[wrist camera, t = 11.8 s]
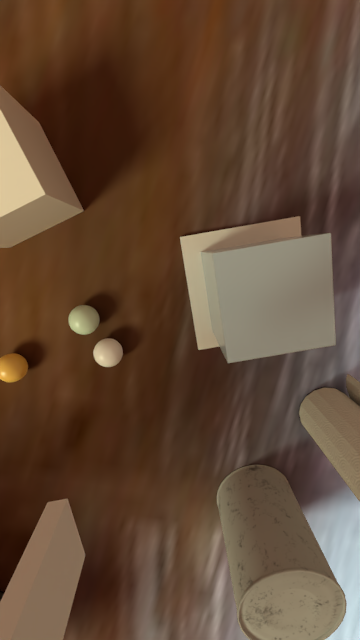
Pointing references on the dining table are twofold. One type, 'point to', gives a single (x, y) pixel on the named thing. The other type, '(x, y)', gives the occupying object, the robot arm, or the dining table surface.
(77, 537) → the robot arm
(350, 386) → the paper towel roll
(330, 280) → the pale sage cube
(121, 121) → the dining table surface
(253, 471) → the speckled beige cylinder
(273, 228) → the mat
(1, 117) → the beige rectangular block
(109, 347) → the white marble
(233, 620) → the dining table surface
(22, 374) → the amber marble
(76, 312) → the green marble
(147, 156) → the dining table surface
